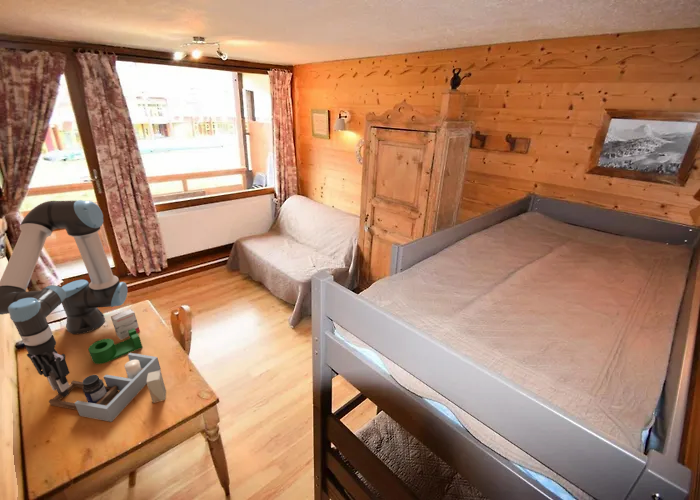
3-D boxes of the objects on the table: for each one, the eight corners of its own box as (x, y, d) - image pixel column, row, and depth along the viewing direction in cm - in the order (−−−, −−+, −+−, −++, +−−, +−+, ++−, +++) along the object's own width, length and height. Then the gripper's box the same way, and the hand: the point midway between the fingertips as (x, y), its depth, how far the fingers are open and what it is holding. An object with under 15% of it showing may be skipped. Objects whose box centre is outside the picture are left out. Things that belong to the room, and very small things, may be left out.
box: (154, 393, 127) (147, 372, 122) (166, 390, 128) (160, 369, 124) (152, 403, 122) (146, 382, 118) (165, 400, 124) (159, 379, 119)
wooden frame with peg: (72, 383, 129) (63, 361, 124) (118, 391, 126) (110, 369, 121) (48, 404, 120) (36, 381, 115) (97, 413, 117) (87, 390, 113)
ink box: (136, 327, 162) (130, 307, 157) (140, 331, 159) (134, 311, 154) (116, 335, 155) (109, 315, 150) (120, 340, 153) (113, 320, 148)
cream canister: (135, 373, 135) (131, 358, 132) (146, 375, 135) (142, 360, 131) (126, 382, 131) (121, 367, 127) (137, 384, 130) (132, 369, 127)
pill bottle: (87, 400, 123) (78, 378, 118) (106, 391, 127) (98, 370, 122) (90, 410, 119) (81, 388, 114) (110, 401, 123) (102, 379, 118)
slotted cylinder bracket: (95, 367, 137) (90, 356, 135) (90, 356, 143) (86, 345, 140) (142, 347, 149) (139, 336, 147) (136, 338, 155) (133, 327, 152)
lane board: (133, 364, 140) (129, 352, 137) (160, 368, 138) (157, 357, 135) (80, 415, 117) (74, 403, 114) (111, 421, 115) (106, 409, 112)
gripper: (7, 343, 111) (33, 393, 120) (48, 349, 109) (70, 399, 118) (30, 330, 117) (52, 377, 127) (69, 335, 115) (88, 383, 125)
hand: (61, 388), depth 123 cm, fingers closed on wooden frame with peg, 3 cm apart
